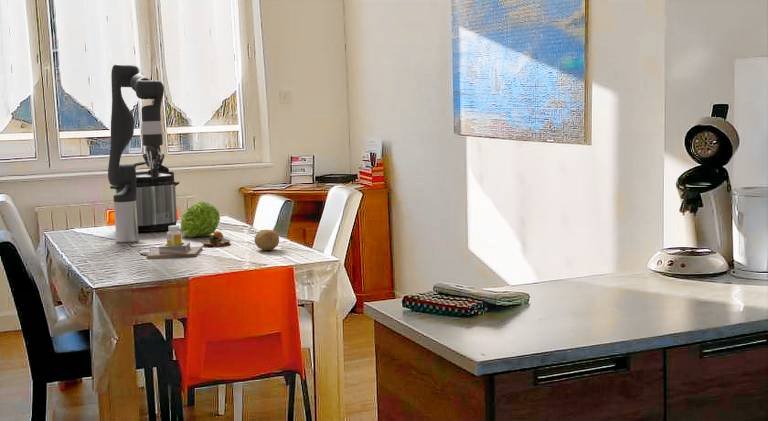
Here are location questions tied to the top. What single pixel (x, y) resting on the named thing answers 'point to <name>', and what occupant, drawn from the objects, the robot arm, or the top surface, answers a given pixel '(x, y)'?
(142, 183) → the pressure cooker
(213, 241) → the floral bowl
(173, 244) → the supplement bottle
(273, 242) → the potato
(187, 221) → the lettuce
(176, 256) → the brown board with frame
